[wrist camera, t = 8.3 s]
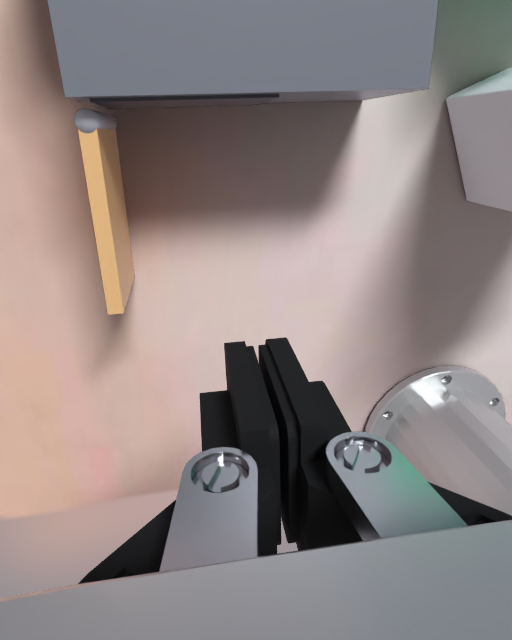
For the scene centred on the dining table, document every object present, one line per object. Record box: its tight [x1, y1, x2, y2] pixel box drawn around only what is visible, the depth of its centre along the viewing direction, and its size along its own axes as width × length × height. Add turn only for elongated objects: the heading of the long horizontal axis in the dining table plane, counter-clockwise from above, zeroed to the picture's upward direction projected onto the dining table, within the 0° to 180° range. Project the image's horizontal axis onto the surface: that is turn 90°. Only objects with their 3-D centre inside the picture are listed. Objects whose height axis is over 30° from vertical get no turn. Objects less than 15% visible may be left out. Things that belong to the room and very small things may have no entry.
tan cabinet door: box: [74, 109, 135, 315], centre depth 24 cm, size 1×10×6 cm, turn 1°
